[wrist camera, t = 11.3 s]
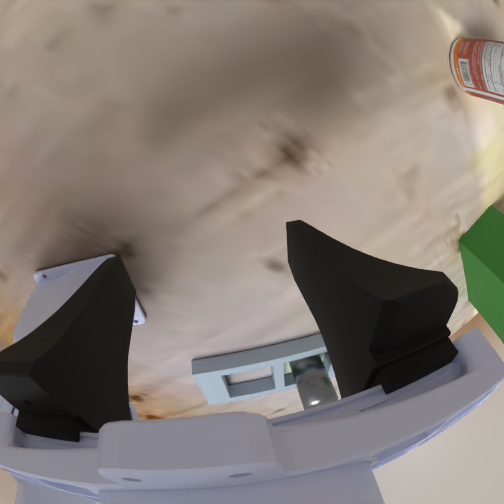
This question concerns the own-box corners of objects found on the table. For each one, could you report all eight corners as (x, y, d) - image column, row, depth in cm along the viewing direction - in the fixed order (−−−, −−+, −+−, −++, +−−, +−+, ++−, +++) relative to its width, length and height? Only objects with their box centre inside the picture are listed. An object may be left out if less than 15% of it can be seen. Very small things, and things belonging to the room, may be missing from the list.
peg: (287, 369, 34) (302, 415, 28) (290, 351, 32) (307, 401, 26) (315, 363, 35) (333, 406, 29) (321, 345, 33) (341, 391, 27)
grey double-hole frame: (208, 392, 35) (209, 404, 33) (191, 360, 30) (192, 374, 28) (342, 361, 36) (347, 372, 35) (350, 324, 32) (357, 336, 30)
